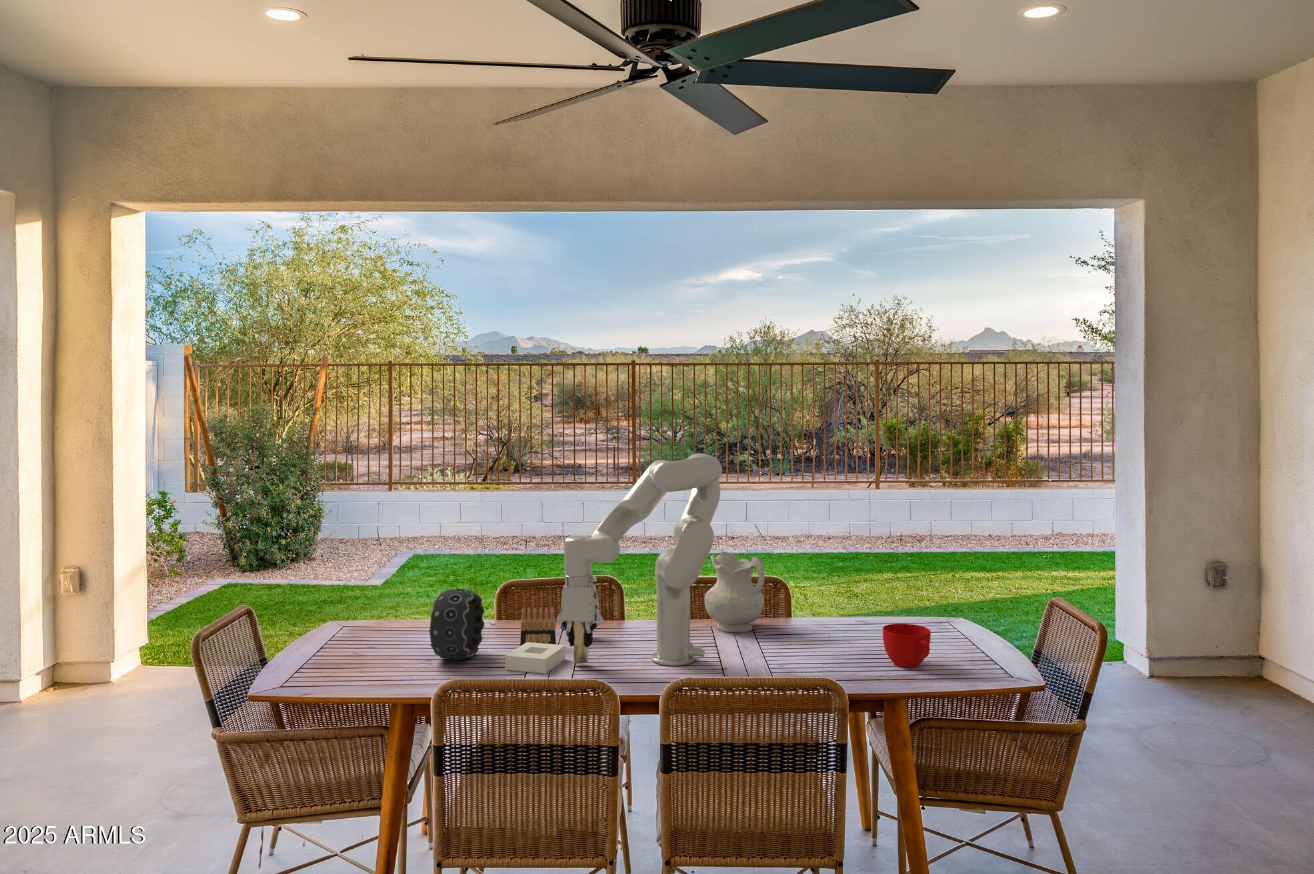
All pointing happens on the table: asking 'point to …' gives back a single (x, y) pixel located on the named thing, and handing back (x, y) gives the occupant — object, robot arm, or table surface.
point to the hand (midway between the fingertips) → (580, 645)
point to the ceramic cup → (906, 644)
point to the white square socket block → (535, 657)
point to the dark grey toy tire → (456, 624)
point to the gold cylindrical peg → (579, 642)
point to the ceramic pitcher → (735, 593)
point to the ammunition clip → (538, 627)
